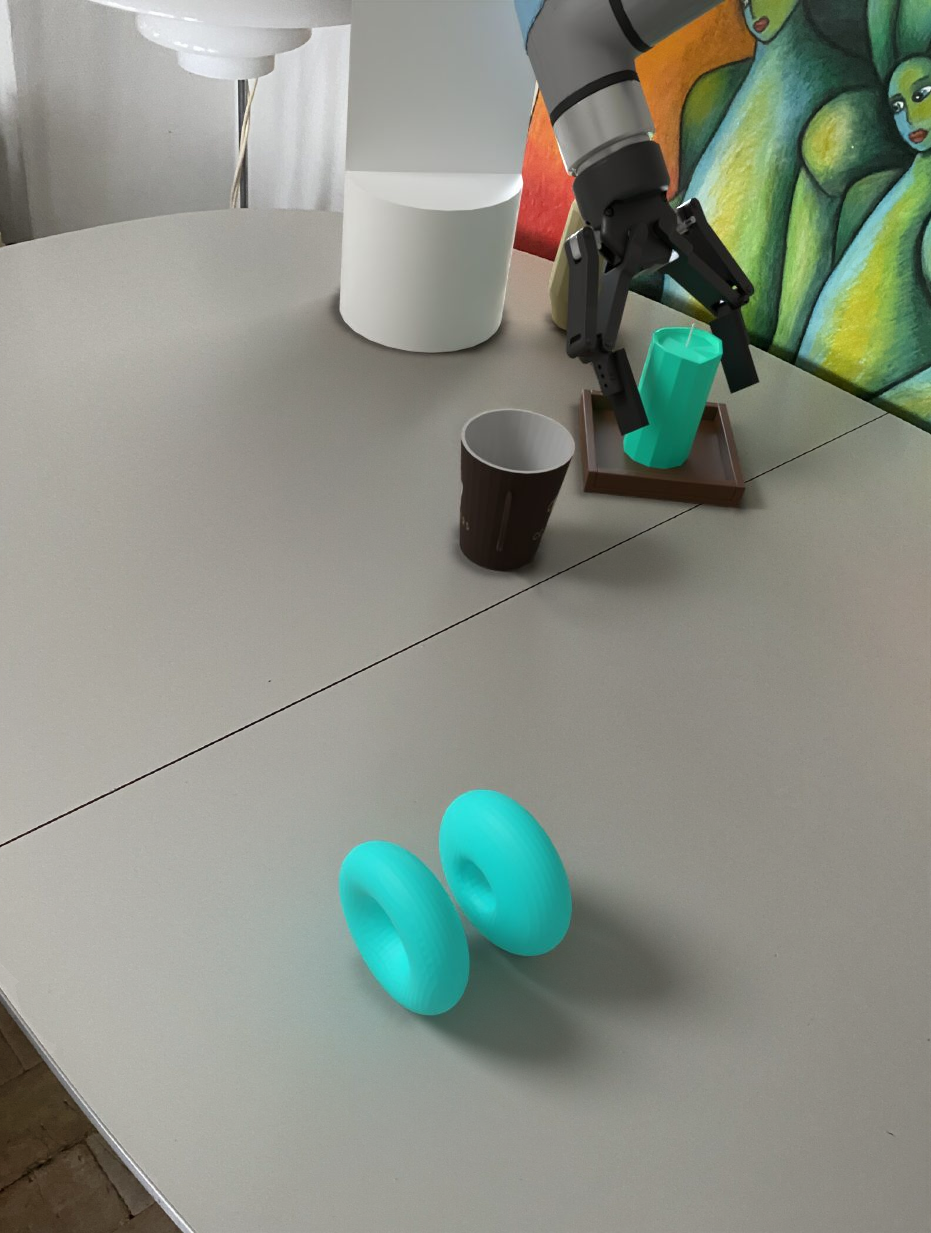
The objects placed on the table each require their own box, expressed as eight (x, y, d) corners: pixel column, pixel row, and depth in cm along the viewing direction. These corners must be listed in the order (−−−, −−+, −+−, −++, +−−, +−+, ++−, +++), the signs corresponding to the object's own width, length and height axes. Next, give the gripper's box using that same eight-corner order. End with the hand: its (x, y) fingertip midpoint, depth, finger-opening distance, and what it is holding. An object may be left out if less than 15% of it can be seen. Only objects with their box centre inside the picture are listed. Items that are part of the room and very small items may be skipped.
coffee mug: (480, 501, 91) (498, 395, 84) (568, 541, 88) (594, 435, 81) (405, 568, 85) (416, 461, 77) (497, 614, 82) (518, 507, 74)
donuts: (562, 971, 62) (600, 874, 54) (421, 1056, 58) (442, 964, 50) (461, 851, 67) (483, 747, 59) (326, 920, 63) (331, 819, 56)
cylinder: (332, 272, 117) (342, -35, 96) (485, 273, 119) (528, -28, 98) (347, 352, 106) (362, 25, 85) (515, 352, 108) (571, 32, 87)
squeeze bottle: (632, 330, 113) (680, 146, 99) (576, 348, 110) (617, 161, 96) (582, 297, 117) (621, 117, 103) (526, 314, 114) (559, 130, 100)
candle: (616, 458, 96) (651, 331, 87) (629, 425, 99) (664, 300, 90) (682, 475, 95) (724, 348, 85) (693, 441, 98) (734, 316, 89)
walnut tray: (719, 422, 102) (725, 403, 100) (738, 507, 93) (746, 487, 91) (577, 408, 102) (582, 388, 100) (583, 491, 93) (588, 471, 92)
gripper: (685, 157, 96) (755, 384, 100) (471, 209, 86) (557, 461, 90) (748, 111, 90) (821, 357, 93) (524, 163, 80) (615, 436, 83)
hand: (692, 409), depth 92 cm, fingers open, 13 cm apart
